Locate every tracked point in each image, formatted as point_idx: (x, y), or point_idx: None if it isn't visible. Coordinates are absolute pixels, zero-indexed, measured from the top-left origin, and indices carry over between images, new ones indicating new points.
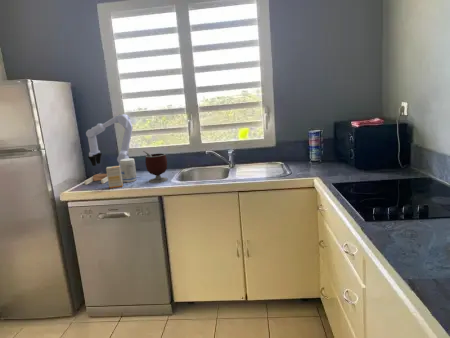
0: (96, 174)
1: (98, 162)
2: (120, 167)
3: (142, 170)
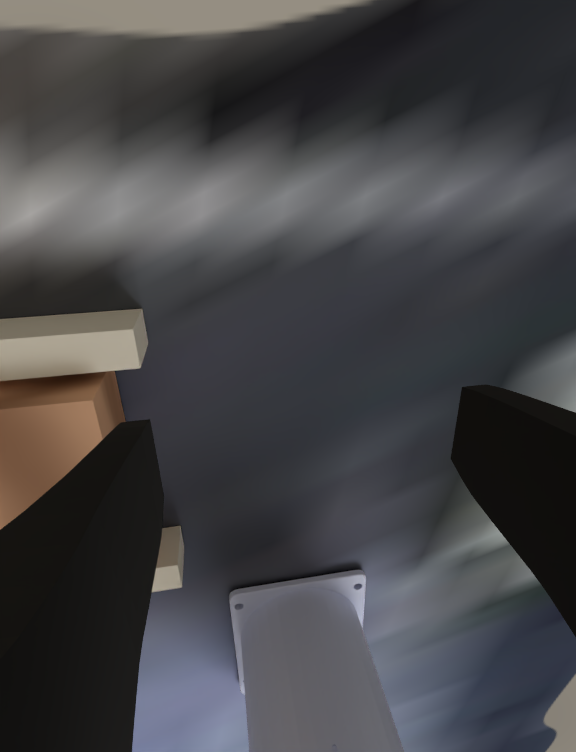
0: (72, 424)
1: (475, 448)
2: (258, 742)
3: (493, 660)
